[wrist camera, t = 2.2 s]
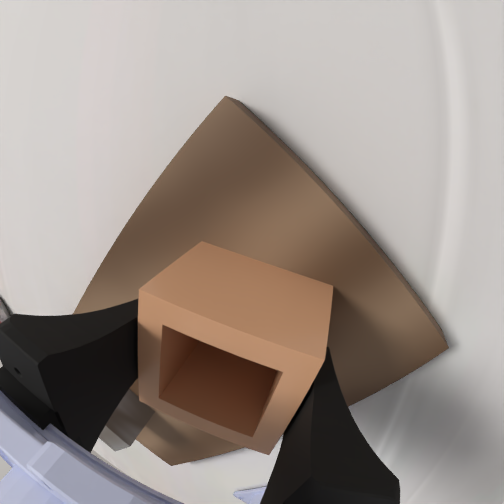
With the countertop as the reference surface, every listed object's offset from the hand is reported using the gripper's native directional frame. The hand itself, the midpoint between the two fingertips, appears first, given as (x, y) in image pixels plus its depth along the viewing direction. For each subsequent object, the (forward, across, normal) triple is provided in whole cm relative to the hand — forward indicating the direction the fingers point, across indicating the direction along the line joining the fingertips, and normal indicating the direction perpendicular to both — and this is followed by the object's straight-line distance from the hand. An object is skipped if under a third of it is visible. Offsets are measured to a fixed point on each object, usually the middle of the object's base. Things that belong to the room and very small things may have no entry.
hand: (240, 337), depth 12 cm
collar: (+1, 0, 0) cm, 1 cm away
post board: (+3, +3, +5) cm, 7 cm away
